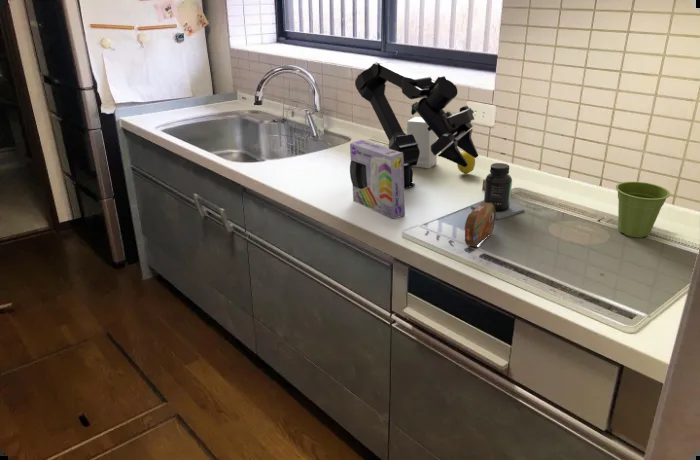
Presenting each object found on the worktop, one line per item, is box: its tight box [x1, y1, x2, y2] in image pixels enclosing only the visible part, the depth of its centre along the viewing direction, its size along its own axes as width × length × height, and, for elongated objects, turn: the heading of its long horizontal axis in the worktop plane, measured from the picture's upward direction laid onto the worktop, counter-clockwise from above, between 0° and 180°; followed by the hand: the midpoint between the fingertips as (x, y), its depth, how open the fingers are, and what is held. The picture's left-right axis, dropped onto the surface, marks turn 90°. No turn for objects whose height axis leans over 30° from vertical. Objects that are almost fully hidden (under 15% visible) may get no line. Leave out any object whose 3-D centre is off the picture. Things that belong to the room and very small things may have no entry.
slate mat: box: [470, 202, 525, 220], centre depth 160 cm, size 10×10×1 cm
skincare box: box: [406, 116, 438, 170], centre depth 194 cm, size 8×7×16 cm
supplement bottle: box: [483, 162, 513, 212], centre depth 157 cm, size 7×7×12 cm
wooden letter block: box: [481, 178, 486, 192], centre depth 173 cm, size 5×5×4 cm
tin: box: [464, 201, 496, 248], centre depth 141 cm, size 15×3×8 cm, turn 148°
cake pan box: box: [349, 139, 406, 219], centre depth 159 cm, size 19×5×18 cm, turn 36°
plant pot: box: [615, 181, 671, 239], centre depth 142 cm, size 12×12×11 cm
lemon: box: [456, 151, 476, 176], centre depth 186 cm, size 6×6×8 cm
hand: (471, 161), depth 158 cm, fingers open, 9 cm apart
